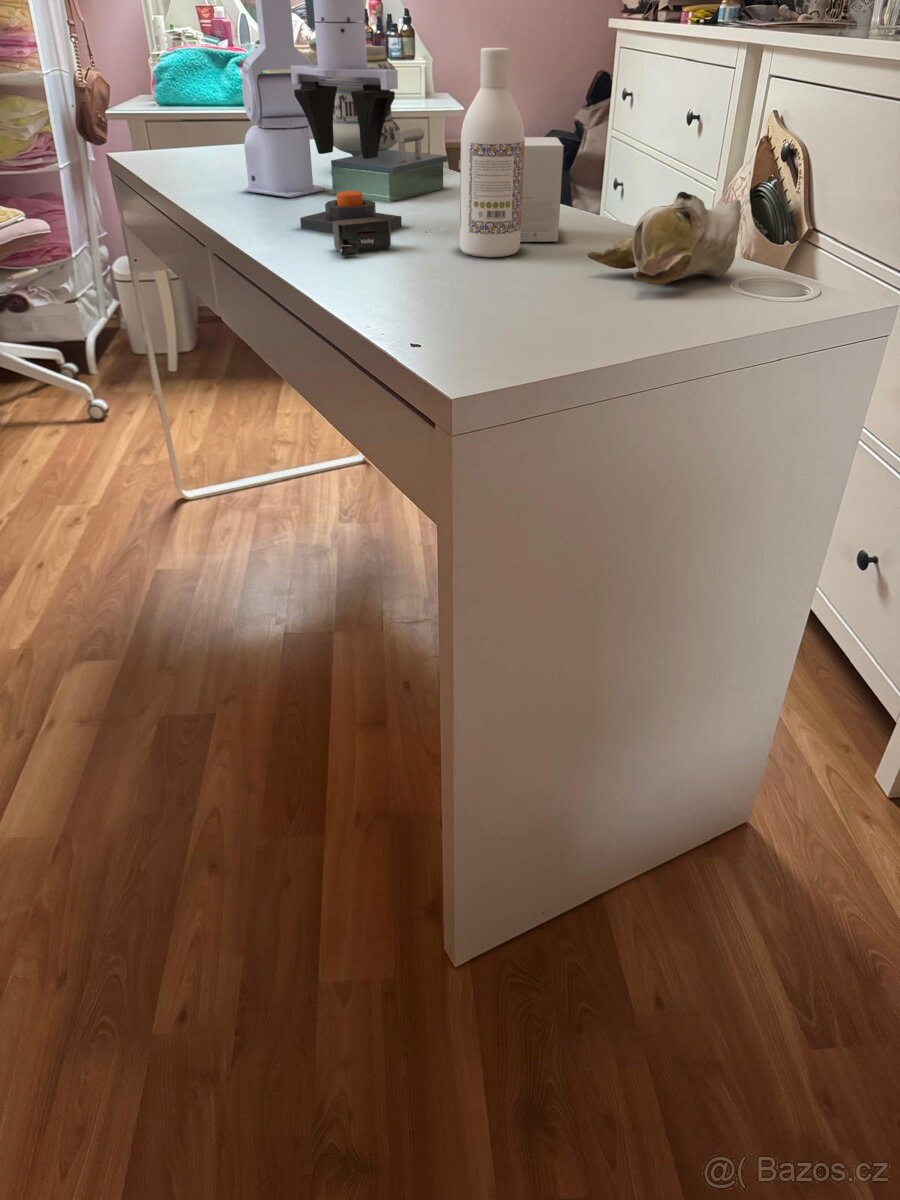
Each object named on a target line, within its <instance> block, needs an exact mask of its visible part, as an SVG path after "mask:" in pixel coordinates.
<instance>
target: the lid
mask: <svg viewBox="0 0 900 1200" xmlns="http://www.w3.org/2000/svg"><path fill="white" fill-rule="evenodd" d="M424 137H425V132H424V129H423V128H421V127H416V128H410V129H409V128H408V129H403V130H400V131H398V132H397V133H396V134H395V139H396V141H397V143H396V144H398V150H397V149H396V150H395V149H388V150H383V151H378V156H377V157H375V158H370V159H363V157H362V155H357V156H353V155H351V156H346V157H342V158H335V159H332V160H330V167H341V168H350V169H359V170H367V171H376V172H384V173H398V172H402V171H407V170H411V169H416V168H421V167H425V166H430V165H434V164H439V163H443V164H444V163H447V162H448V161H449V160H448V159H449V158H448V155H445V154H444V155H443V154H434V153H424V152H422V140H423V139H424ZM412 142H414V151H406V143H412Z"/></svg>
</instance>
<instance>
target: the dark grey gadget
mask: <svg viewBox="0 0 900 1200" xmlns="http://www.w3.org/2000/svg"><path fill="white" fill-rule="evenodd" d="M391 231H392V230H391ZM391 231H390V219H388V218H385V217H381V216H378V217H367V218H357V219H348V220H338V221H333V233H334V234H333V244H334V245H333V246H334V247H333V248H334V250H335V251H336V252H338V253H339V255H340V256H341V257H343V258H345V257H351V256H354V255H356V254H360V253H368V252H369V253H370V252H376V251H377V252H378V251H386V250H389V249H390V248H391V246H392V236H391V235H392V234H391Z"/></svg>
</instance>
